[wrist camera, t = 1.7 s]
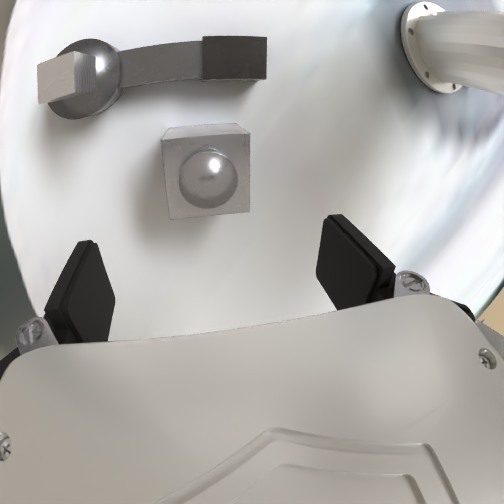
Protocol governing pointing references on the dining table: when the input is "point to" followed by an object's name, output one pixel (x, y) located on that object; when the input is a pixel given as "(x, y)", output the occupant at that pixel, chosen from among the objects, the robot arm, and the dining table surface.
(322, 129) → the dining table surface
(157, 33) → the dining table surface
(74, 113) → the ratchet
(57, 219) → the dining table surface
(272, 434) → the robot arm
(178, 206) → the cube with metal dome
